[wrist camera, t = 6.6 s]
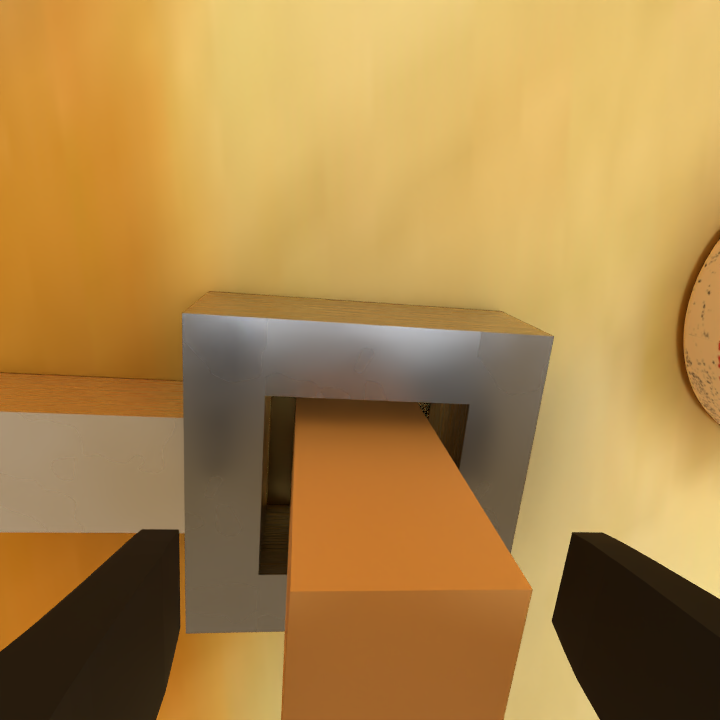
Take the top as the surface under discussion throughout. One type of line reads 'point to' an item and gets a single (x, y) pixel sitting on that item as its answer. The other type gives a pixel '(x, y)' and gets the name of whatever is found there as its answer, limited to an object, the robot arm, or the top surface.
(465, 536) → the square peg
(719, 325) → the teacup with lid
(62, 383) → the bracket
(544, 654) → the top surface
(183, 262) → the top surface
